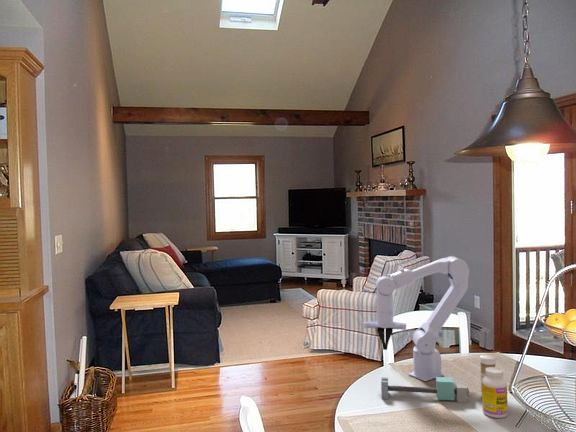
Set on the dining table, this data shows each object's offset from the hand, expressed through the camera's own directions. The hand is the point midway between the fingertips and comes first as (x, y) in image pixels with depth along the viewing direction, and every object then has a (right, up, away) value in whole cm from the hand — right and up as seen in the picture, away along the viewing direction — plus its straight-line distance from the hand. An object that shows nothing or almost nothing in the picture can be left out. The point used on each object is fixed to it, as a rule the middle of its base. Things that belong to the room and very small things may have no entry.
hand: (385, 348), depth 167 cm
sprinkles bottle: (+28, -10, -21) cm, 36 cm away
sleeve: (+15, -10, -20) cm, 27 cm away
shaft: (+8, -9, -19) cm, 22 cm away
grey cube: (+19, -10, -21) cm, 30 cm away
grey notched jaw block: (-3, -11, -16) cm, 19 cm away
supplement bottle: (+25, -10, -31) cm, 41 cm away
